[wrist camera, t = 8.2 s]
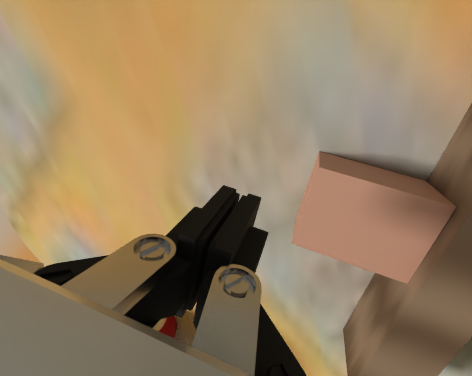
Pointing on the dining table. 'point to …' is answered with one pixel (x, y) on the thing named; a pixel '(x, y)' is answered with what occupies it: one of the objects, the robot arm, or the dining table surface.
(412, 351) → the brown blocky bar
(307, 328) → the dining table surface
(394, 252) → the terracotta block
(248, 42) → the dining table surface
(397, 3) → the dining table surface
